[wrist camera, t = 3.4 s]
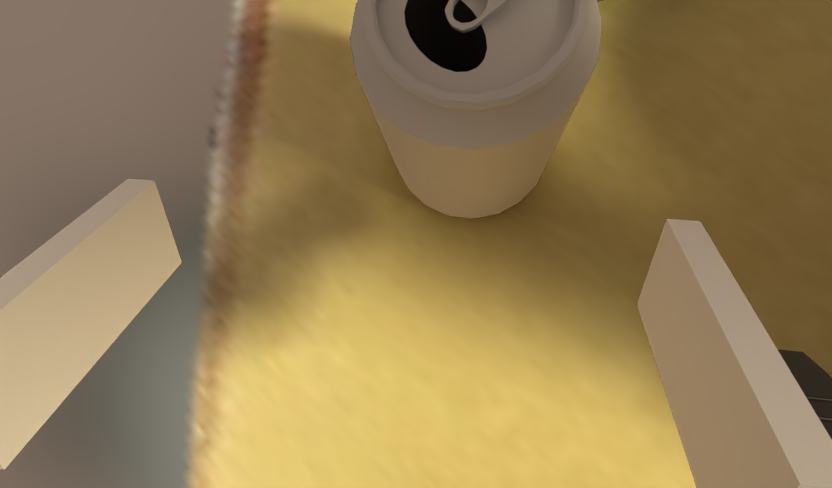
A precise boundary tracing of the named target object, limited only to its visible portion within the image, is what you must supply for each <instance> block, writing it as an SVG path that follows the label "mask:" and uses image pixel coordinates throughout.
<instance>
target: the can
mask: <svg viewBox="0 0 832 488" xmlns="http://www.w3.org/2000/svg"><path fill="white" fill-rule="evenodd" d="M601 28H602V19H601V15H600V11H599V7H598V3H597V0H358V1H357V3H356V7H355V13H354V19H353V25H352V30H351V36H350V41H351V48H352V54H353V60H354V66H355V72H356V75H357V78H358V80H359V82H360V84H361V87H362V89H363V91H364V94H365V96H366V98H367V101H368V103H369V105H370V107H371V110H372V112H373V114H374V117H375V119H376V121H377V123H378V126H379V128H380V130H381V133H382V135H383V137H384V139H385V142H386V144H387V146H388V149H389V151H390V153H391V155H392V158H393V160H394V162H395V165H396V167H397V169H398V171H399V173H400V175H401V177H402V178H403V180H404V182H405V184H406V186H407V188H408V189H409V190H410V191H411V192H412V193H413V194H414V195H415V196H416V197H417V198H418V199H419V200H420V201H422V202H423V203H424V204H425V205H426V206H428V207H430V208H432V209H435V210H437V211H439V212H441V213H443V214H445V215H448V216H454V217H463V218H471V219H474V218H479V217H485V216H490V215H495V214H499V213H501V212H502V211H504V210H506V209H508V208H510V207H512V206H514V205H515V204H517V203H519V202H520V201H521V200H522V199H523V198H524V197H525V196H526V195H527V194H528V193H529V192H530V191H531V190H532V189H533V188H534V187H535V186H536V185H537V183H538V181H539V179H540V177H541V175H542V173H543V171H544V169H545V167H546V165H547V163H548V161H549V159H550V157H551V155H552V153H553V151H554V149H555V147H556V145H557V143H558V141H559V139H560V137H561V135H562V133H563V131H564V129H565V127H566V125H567V123H568V121H569V119H570V117H571V115H572V113H573V111H574V109H575V107H576V105H577V103H578V101H579V99H580V97H581V95H582V93H583V90H584V88H585V86H586V84H587V82H588V80H589V78H590V76H591V73H592V71H593V69H594V67H595V65H596V63H597V61H598V59H599V49H600V39H601Z"/></svg>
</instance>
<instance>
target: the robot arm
mask: <svg viewBox="0 0 832 488" xmlns="http://www.w3.org/2000/svg"><path fill="white" fill-rule="evenodd" d="M181 263H182V262H181V259H180V256H179V253H178V250H177V247H176V244H175V241H174V238H173V235H172V232H171V229H170V226H169V223H168V220H167V217H166V214H165V210H164V208H163V205H162V201H161V198H160V196H159V192H158V190H157V187H156V184H155V181H153V180H140V179H127V180H126V181H124V182H123V183H122V184H120V185H119V186H118V187H117V188H115V189H114V190H113V191H112V192H110V193H109V194H108V195H106V196H105V197H104V198H102V199H101V200H100V201H99V202H97V203H96V204H95V205H93V206H92V207H91V208H89V209H88V210H87V211H86V212H84V213H83V214H82V215H81V216H79V217H78V218H77V219H75V220H74V221H73V222H72V223H70V224H69V225H68V226H66V227H65V228H64V229H62V230H61V231H60V232H59V233H57V234H56V235H55V236H53V237H52V238H51V239H49V240H48V241H47V242H46V243H44V244H43V245H42V246H40V247H39V248H38V249H37V250H35V251H34V252H33V253H31V254H30V255H29V256H28V257H26V258H25V259H24V260H22V261H21V262H20V263H18V265H16V266H15V267H13V268H12V269H11V270H10V271H8V272H7V273H6V274H4V275H3V276H1V277H0V469H5V468H6V467H7V466H8V464H10V462H11V461H12V460H13V459H14V458H15V457H16V456H17V454H18V453H19V452H20V451H21V450H22V448H23V447H24V446H25V445H26V444H27V443H28V441H29V440H30V439H31V438H32V437H33V436H34V434H35V433H36V432H37V431H38V430H39V429H40V427H41V426H42V425H43V424H44V423H45V422H46V420H47V419H48V418H49V417H50V416H51V415H52V413H53V412H54V411H55V410H56V409H57V408H58V406H59V405H60V404H61V403H62V402H63V401H64V399H65V398H66V397H67V396H68V395H69V394H70V392H71V391H72V390H73V389H74V388H75V386H76V385H77V384H78V383H79V382H80V381H81V380H82V378H83V377H84V376H85V375H86V374H87V373H88V371H89V370H90V369H91V368H92V367H93V366H94V364H95V363H96V362H97V361H98V360H99V358H100V357H101V356H102V355H103V354H104V353H105V352H106V350H107V349H108V348H109V347H110V346H111V345H112V343H113V342H114V341H115V340H116V339H117V337H118V336H119V335H120V334H121V333H122V332H123V330H124V329H125V328H126V327H127V326H128V325H129V323H130V322H131V321H132V320H133V319H134V318H135V316H136V315H137V314H138V313H139V311H140V310H141V309H142V308H143V307H144V306H145V305H146V304H147V302H148V301H149V300H150V299H151V298H152V297H153V295H154V294H155V293H156V292H157V291H158V289H159V288H160V287H161V286H162V285H163V284H164V283H165V281H166V280H167V279H168V278H169V277H170V276H171V274H172V273H173V272H174V271H175V270H176V269H177V267H178V266H179V265H180V264H181ZM637 307H638V310H639V313H640V316H641V319H642V322H643V325H644V328H645V331H646V334H647V337H648V340H649V343H650V347H651V350H652V353H653V356H654V359H655V362H656V365H657V368H658V371H659V374H660V377H661V380H662V383H663V386H664V389H665V392H666V395H667V398H668V402H669V405H670V408H671V411H672V414H673V417H674V420H675V423H676V426H677V429H678V432H679V435H680V438H681V441H682V444H683V447H684V450H685V453H686V457H687V460H688V463H689V466H690V469H691V472H692V475H693V478H694V481H695V484H696V487H697V488H832V379H831V377H830V376H829V374H827V373H826V372H825V371H824V370H823V369H822V368H820V367H819V366H818V365H817V364H816V363H815V362H814V361H812V360H811V359H810V358H809V357H808V356H807V355H805V354H804V353H803V352H796V351H786V350H777V348H776V346H775V345H774V343H773V341H772V340H771V338H770V336H769V335H768V333H767V331H766V330H765V328H764V326H763V325H762V323H761V321H760V320H759V318H758V316H757V315H756V313H755V311H754V310H753V308H752V306H751V305H750V303H749V301H748V300H747V298H746V296H745V295H744V293H743V291H742V290H741V288H740V286H739V285H738V283H737V281H736V280H735V278H734V276H733V275H732V273H731V271H730V270H729V268H728V266H727V265H726V263H725V261H724V260H723V258H722V256H721V255H720V253H719V251H718V250H717V248H716V246H715V245H714V243H713V241H712V240H711V238H710V236H709V235H708V233H707V231H706V230H705V228H704V226H703V225H702V223H701V221H693V220H679V219H666V222H665V225H664V227H663V230H662V233H661V236H660V239H659V242H658V245H657V248H656V251H655V253H654V256H653V259H652V262H651V265H650V268H649V271H648V274H647V276H646V279H645V282H644V285H643V288H642V291H641V294H640V297H639V300H638V302H637Z"/></svg>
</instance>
